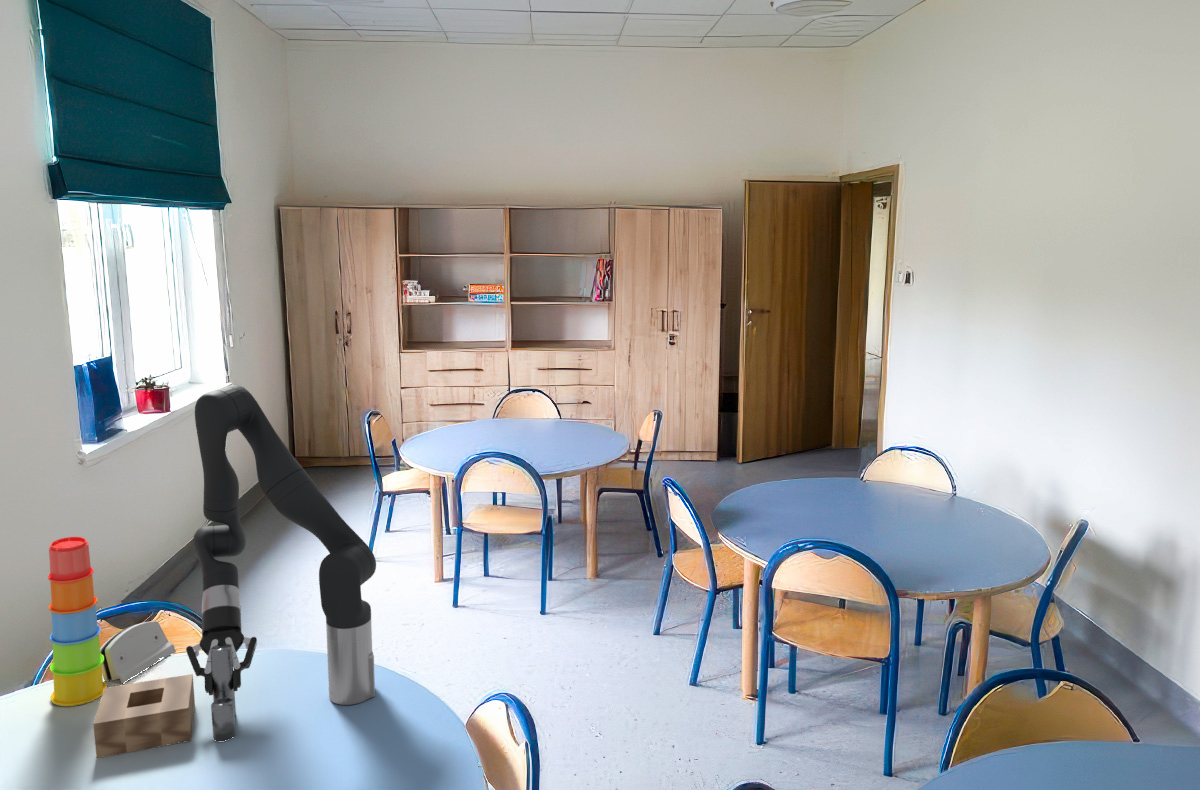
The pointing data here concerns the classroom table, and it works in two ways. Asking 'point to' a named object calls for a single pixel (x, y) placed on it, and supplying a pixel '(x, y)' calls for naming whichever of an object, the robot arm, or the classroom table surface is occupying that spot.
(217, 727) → the short pin
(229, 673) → the long pin
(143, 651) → the grey curved housing
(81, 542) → the stacking cups
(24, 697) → the classroom table surface
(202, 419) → the robot arm
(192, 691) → the bore block
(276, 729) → the classroom table surface
